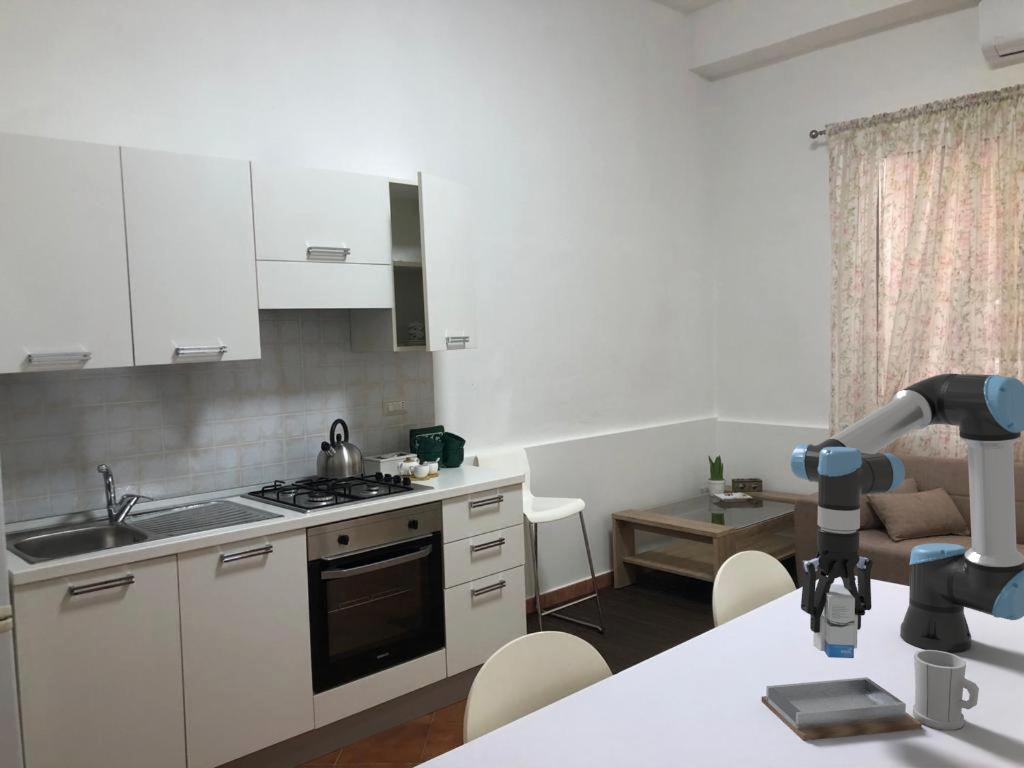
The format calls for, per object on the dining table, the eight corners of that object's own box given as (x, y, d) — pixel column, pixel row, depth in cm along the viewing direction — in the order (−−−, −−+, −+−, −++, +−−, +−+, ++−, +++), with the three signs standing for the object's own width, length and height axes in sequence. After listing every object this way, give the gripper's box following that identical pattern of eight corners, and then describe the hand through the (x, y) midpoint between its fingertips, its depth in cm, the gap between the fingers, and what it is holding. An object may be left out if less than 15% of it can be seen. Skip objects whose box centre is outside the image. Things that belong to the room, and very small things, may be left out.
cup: (969, 714, 159) (971, 653, 158) (978, 736, 150) (981, 672, 150) (909, 706, 162) (910, 647, 162) (915, 727, 154) (917, 665, 153)
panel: (869, 691, 169) (869, 686, 169) (921, 728, 153) (921, 723, 153) (761, 701, 165) (761, 696, 165) (803, 740, 149) (803, 735, 149)
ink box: (854, 659, 153) (856, 597, 153) (827, 658, 154) (828, 596, 153) (843, 642, 162) (844, 583, 161) (816, 640, 163) (818, 582, 162)
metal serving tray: (866, 691, 167) (867, 677, 167) (905, 719, 155) (905, 703, 155) (766, 700, 163) (766, 686, 163) (797, 730, 151) (798, 714, 151)
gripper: (871, 522, 162) (868, 636, 163) (782, 526, 158) (779, 643, 160) (895, 531, 154) (892, 651, 156) (802, 535, 151) (799, 658, 153)
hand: (835, 646), depth 158 cm, fingers closed on ink box, 6 cm apart
